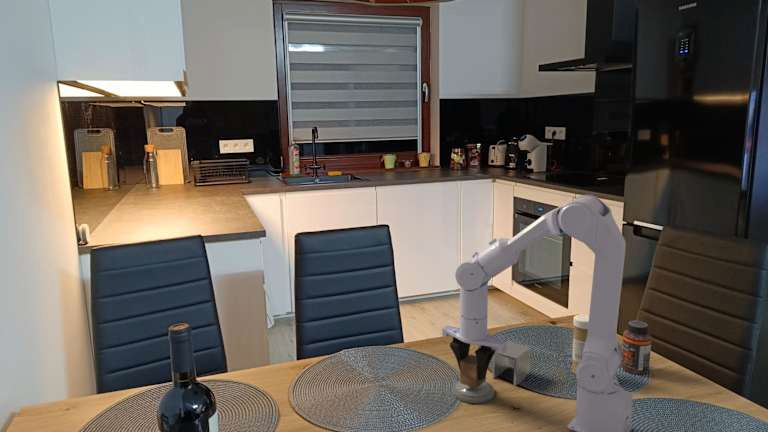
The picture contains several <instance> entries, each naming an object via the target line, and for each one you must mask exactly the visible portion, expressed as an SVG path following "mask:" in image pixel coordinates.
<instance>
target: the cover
mask: <svg viewBox="0 0 768 432" xmlns="http://www.w3.org/2000/svg"><path fill="white" fill-rule="evenodd" d="M506 342H507V351H505V352H504V353H502V354H501V353H498V351H496V352H495V353H494V355H493V357H492V371H491V373H492V374H491V376H492V377H491V378H492V379H496V378H497V377H498V376H499V374H500V373H501V374H503V371H504V370H505V371H506V370H508V369H509V368H510V360H513V361H514V362H513V386H515V387H516V386H518V385H519V384H520V383H521V382H522V381H524V379H525V377H526V376H527V375H528V376H529V375H530V374H531V350H532V349H531V347H530V346H527V345H523V344H519V343H516V342H513V341H509V340H507V341H506ZM508 367H509V368H508ZM505 371H504V372H505ZM501 374H500V375H501ZM528 376H527V377H528ZM527 377H526V378H527ZM520 381H521V382H520ZM519 382H520V383H519ZM518 383H519V384H518Z"/></svg>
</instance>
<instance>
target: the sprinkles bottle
mask: <svg viewBox="0 0 768 432" xmlns="http://www.w3.org/2000/svg"><path fill="white" fill-rule="evenodd" d="M588 323H589V315H588V314H576V315H574V316H573V323H572V324H573V337H572V357H571V358H572V362H571V363H572V365H571V367H572V368H571V373H572V374H573V375H575V376H576V367H577V365H578V364H579V362H580V361H581V360H582V356H583V350H584V346H585V343H586V339H587V334H588Z"/></svg>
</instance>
